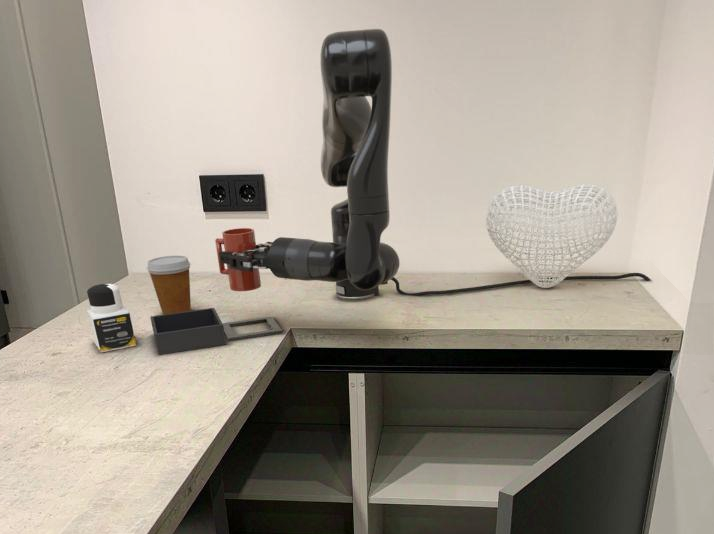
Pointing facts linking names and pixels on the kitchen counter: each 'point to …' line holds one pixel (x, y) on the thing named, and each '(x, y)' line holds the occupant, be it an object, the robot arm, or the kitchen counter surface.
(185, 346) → the grey square storage bin
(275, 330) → the hollow square frame
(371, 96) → the robot arm
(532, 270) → the heart
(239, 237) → the red mug
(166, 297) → the disposable coffee cup
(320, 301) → the kitchen counter surface
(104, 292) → the medicine bottle
